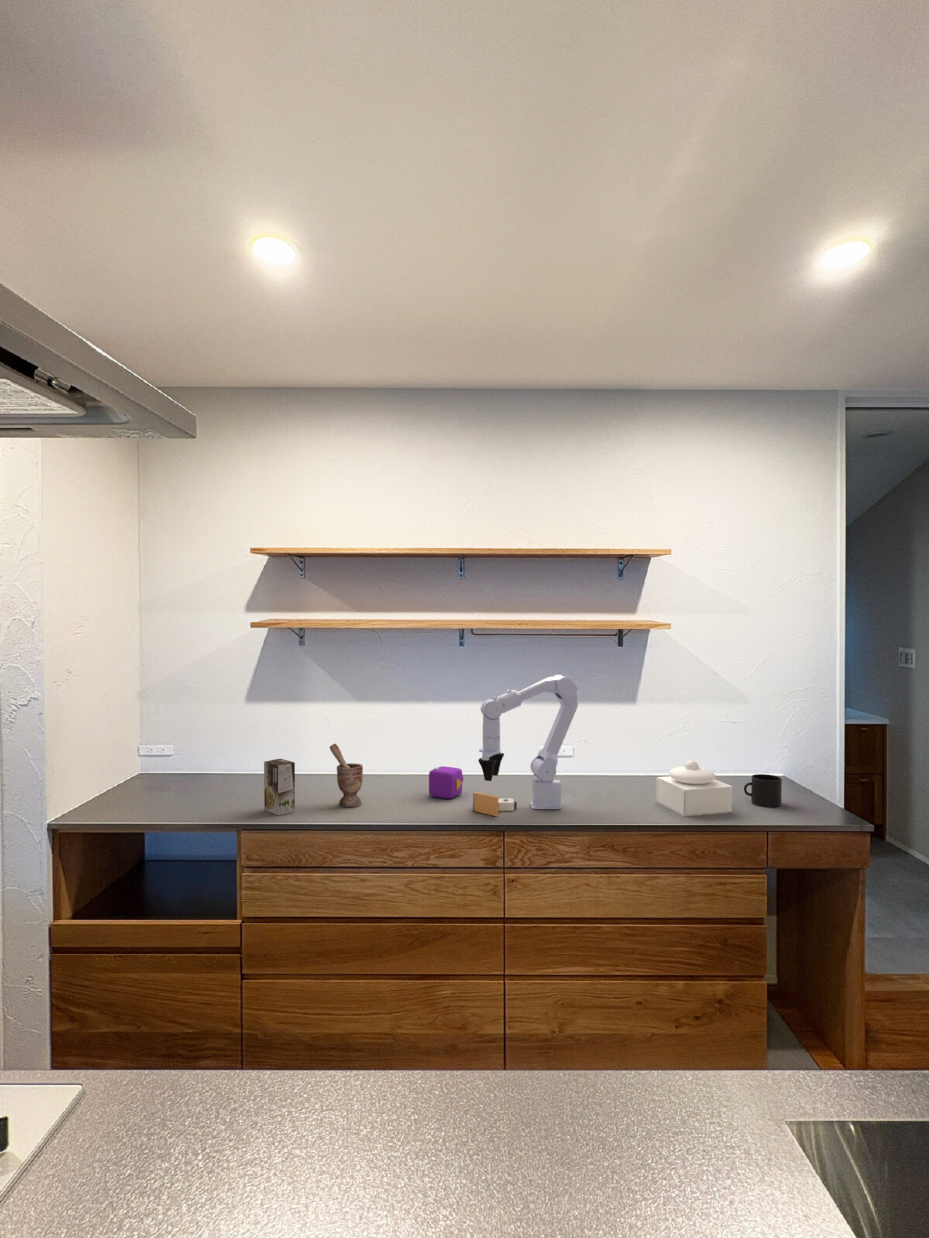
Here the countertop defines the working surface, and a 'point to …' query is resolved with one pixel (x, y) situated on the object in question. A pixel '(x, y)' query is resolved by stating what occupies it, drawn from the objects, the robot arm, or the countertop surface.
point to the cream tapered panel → (506, 804)
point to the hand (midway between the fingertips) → (491, 777)
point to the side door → (485, 803)
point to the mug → (765, 790)
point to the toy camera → (445, 782)
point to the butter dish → (693, 791)
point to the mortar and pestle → (348, 779)
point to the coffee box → (279, 786)
